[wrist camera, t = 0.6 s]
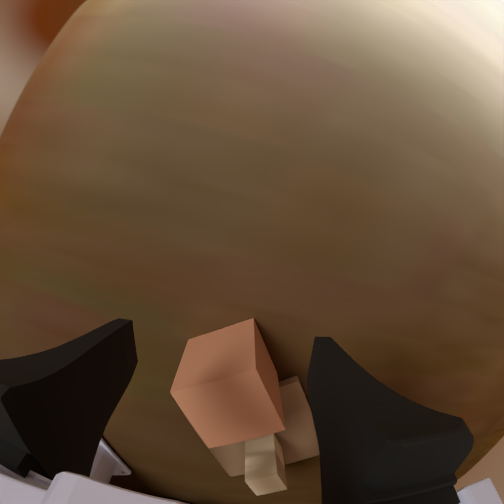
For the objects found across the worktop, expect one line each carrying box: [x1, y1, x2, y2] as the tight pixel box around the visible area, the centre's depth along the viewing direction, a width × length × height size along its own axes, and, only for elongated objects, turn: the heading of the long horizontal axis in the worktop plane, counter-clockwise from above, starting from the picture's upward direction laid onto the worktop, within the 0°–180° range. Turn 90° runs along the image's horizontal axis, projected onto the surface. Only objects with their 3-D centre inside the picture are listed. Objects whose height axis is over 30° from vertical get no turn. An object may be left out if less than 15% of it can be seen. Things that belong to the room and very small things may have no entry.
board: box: [184, 376, 320, 477], centre depth 24 cm, size 10×10×1 cm
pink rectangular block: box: [170, 318, 286, 448], centre depth 20 cm, size 5×5×7 cm
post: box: [245, 433, 287, 496], centre depth 22 cm, size 3×3×5 cm
